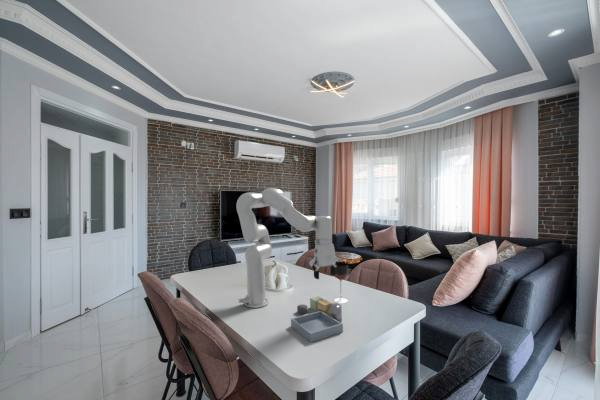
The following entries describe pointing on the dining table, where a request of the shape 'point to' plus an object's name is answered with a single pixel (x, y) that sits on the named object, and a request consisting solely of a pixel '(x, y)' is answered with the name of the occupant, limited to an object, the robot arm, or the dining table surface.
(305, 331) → the tray
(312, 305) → the sage block
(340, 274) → the wineglass
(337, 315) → the metal cylinder
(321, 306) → the oak block
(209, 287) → the dining table surface
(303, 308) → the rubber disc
